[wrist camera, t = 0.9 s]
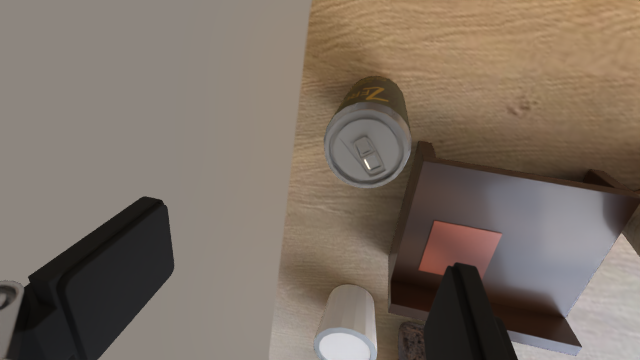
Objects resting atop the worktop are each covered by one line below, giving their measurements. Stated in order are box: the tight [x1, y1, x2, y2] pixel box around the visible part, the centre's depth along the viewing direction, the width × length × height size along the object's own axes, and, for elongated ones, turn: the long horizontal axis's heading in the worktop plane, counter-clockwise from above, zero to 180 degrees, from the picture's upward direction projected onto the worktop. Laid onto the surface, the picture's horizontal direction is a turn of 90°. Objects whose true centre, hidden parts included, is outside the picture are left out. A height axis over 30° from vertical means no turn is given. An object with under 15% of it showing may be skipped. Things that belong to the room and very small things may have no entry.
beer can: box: [324, 76, 412, 188], centre depth 24 cm, size 5×5×12 cm
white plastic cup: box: [314, 284, 377, 360], centre depth 38 cm, size 7×7×7 cm
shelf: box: [388, 141, 640, 356], centre depth 29 cm, size 14×16×8 cm
